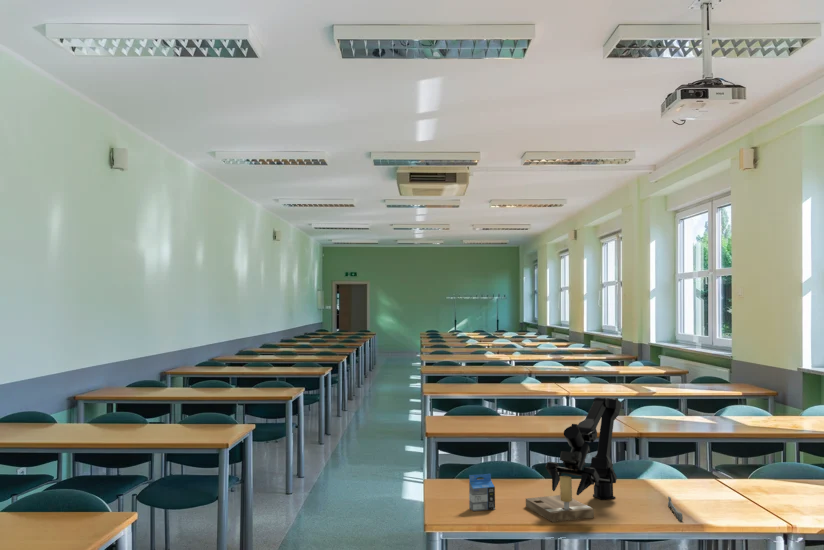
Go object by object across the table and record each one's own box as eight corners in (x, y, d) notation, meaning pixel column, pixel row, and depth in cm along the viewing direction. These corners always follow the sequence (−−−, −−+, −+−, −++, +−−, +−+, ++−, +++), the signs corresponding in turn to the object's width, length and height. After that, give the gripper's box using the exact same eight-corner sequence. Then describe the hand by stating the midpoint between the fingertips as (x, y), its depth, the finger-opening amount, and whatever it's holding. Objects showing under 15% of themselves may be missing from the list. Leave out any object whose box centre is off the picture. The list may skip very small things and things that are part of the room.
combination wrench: (682, 512, 234) (670, 495, 253) (678, 512, 234) (667, 495, 254) (682, 523, 234) (671, 505, 253) (678, 523, 234) (667, 505, 253)
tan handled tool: (566, 515, 242) (564, 475, 243) (575, 517, 238) (573, 477, 239) (558, 517, 239) (557, 477, 240) (568, 519, 236) (566, 478, 237)
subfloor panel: (565, 502, 258) (564, 494, 258) (594, 517, 238) (593, 508, 239) (525, 506, 253) (525, 498, 253) (552, 522, 234) (551, 513, 234)
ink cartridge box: (472, 511, 247) (472, 477, 248) (469, 508, 251) (468, 475, 252) (495, 509, 250) (494, 475, 250) (491, 506, 253) (490, 473, 254)
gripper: (547, 439, 249) (533, 475, 240) (595, 445, 238) (582, 483, 228) (557, 457, 255) (544, 493, 246) (604, 463, 243) (592, 501, 234)
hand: (565, 492), depth 238 cm, fingers open, 9 cm apart
